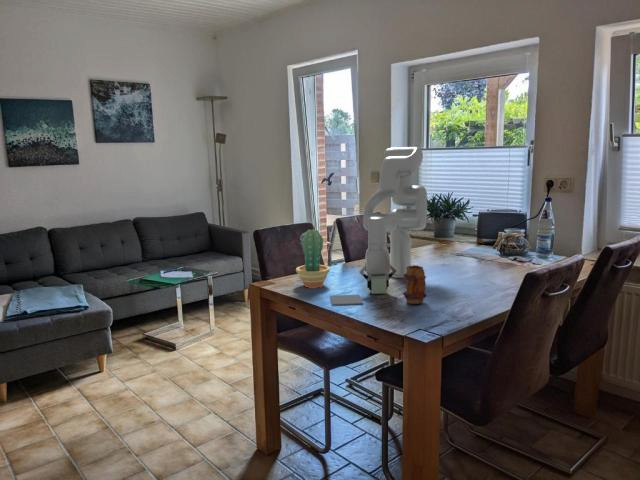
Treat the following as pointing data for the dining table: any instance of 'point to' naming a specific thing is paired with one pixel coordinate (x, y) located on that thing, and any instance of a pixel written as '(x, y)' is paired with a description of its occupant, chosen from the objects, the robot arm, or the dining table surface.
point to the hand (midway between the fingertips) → (378, 288)
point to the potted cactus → (312, 260)
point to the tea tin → (378, 283)
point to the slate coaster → (346, 300)
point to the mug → (415, 285)
